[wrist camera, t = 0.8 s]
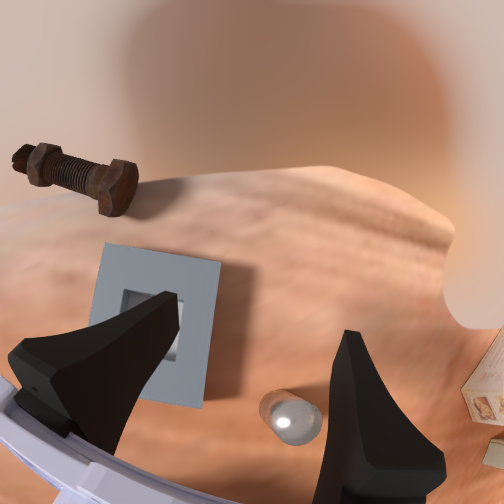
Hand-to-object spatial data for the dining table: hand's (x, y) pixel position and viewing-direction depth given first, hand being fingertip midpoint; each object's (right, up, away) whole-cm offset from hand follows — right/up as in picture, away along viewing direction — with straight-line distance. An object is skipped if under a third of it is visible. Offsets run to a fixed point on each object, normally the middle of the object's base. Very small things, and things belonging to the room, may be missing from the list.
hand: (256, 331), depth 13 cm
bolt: (-19, +11, +16) cm, 27 cm away
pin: (+2, -11, +13) cm, 17 cm away
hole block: (-9, -3, +13) cm, 16 cm away
